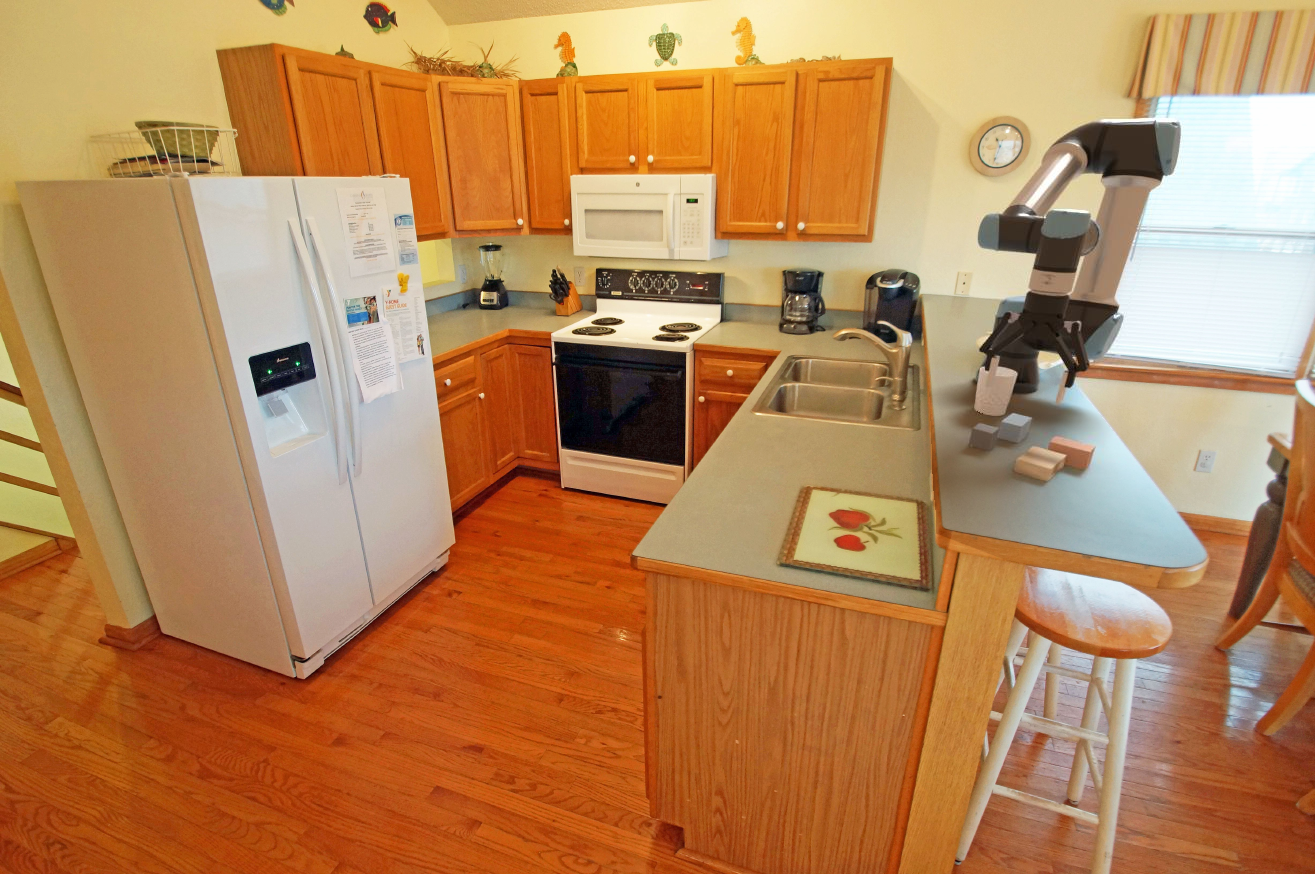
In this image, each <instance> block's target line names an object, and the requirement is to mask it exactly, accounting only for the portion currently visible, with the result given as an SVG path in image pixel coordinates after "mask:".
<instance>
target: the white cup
mask: <svg viewBox="0 0 1315 874" xmlns="http://www.w3.org/2000/svg"><path fill="white" fill-rule="evenodd" d="M988 373H989V371H985V367H981V368H980V371H979V378H978V383H977V382H976V383H977V385H976V393H975V400H974V401H975V402H974V407H973V409H974V411H976V412H977V411H978V413H979V412H980V413H979V414H982V413H983V414H982V415H986V416H993V417H1000V416H1004V415H1005V414H1006V412H1007V408H1008V406H1009V403H1010V400H1011V397H1012V394H1013V393H1012V391H1013V388H1014V384H1015V381H1016V377H1017V374H1018V373H1017V372H1016V371H1014V370H1011V369H1008V368H1004V367H997V371H996V376H995V380H994V384H993V386H991V387H990V388H987V387H985V386H986V382H987V377H988Z"/></svg>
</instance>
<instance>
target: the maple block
mask: <svg viewBox="0 0 1315 874" xmlns="http://www.w3.org/2000/svg"><path fill="white" fill-rule="evenodd" d="M1066 456H1067V455H1065V454H1061V453H1058V452H1054V451H1050V450H1048V448H1043V447H1039V446H1036V445H1033V446H1031V447H1030V448H1028V449H1027V450H1026V451H1025V452H1023V453H1022V454H1021V455H1019V457H1017V458H1016V459H1015V463H1014V468H1013V472H1015V473H1018V474H1021V475H1024V476H1027V477H1031V478H1034V479H1037V480H1040V481H1043V482H1046V483H1047V482H1049V481H1050V480H1051V479H1052V478H1053V477H1054V476H1056V475H1057V474H1058V473H1059V472H1060V471H1061V470H1062V469H1063V468H1064V466H1065V465H1064V463H1065V460H1066Z"/></svg>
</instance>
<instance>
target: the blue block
mask: <svg viewBox="0 0 1315 874" xmlns="http://www.w3.org/2000/svg"><path fill="white" fill-rule="evenodd" d="M1032 420H1033V417H1031V416H1027V415H1022V414H1019V413H1014V412H1012V413H1011V414H1009V415H1008V416H1006V418H1004V419H1003V420H1001V423H1000V427H999V432H998V436H997V439H1001V440H1003V441H1004V440H1005V441H1008V442H1012V443H1015V444H1018V443H1020V442H1021V441H1022V440H1023V439H1025V438H1026V437H1027V436H1028V435H1029V432H1030V429H1031V426H1032V425H1031V424H1032Z"/></svg>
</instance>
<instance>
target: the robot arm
mask: <svg viewBox="0 0 1315 874" xmlns="http://www.w3.org/2000/svg"><path fill="white" fill-rule="evenodd" d="M1181 136H1182V128H1181V123H1180V122H1179V120H1178V119H1176V118H1160V117H1156V116H1155V117H1150V118H1147V117H1146V118H1129V119H1127V118H1126V119H1125V118H1124V119H1121V118H1120V119H1109V118H1106V119H1099V120H1094V121H1091V122H1088V123H1084V124H1083V125H1080V126H1077V127H1075V128H1074V129H1073V130H1071V131H1068V132H1067V133H1065V134H1064V135H1062V136H1061V137H1059V138H1058V139H1057V140H1056V141H1055V142H1053V143H1052V144H1051V146H1050V147H1049V148H1048V149H1047V151H1046V152H1045V153H1044V155H1043V156H1042V159H1041V165H1040V166H1039V167H1038V169H1037V170H1036V171H1035V172H1034V174H1032V176H1031V177H1030V178H1029V180H1028V181H1027V183H1026V184H1025V185H1024V186H1023V187H1022V189H1021V190H1020V191H1019V192H1018V193H1017V195H1016V196H1015V198H1014V199H1013V200H1012V201H1011V202H1010V204H1008V206H1007V207H1006V208H1005V210H1004V211H1003V212H1002V213H1000V212H996V213H988V214H986V215H985V216H984V217H983V218H982V219H981V222H980V225H979V227H978V231H977V244H978V246H979V247H980V248H981V249H985V250H990V251H992V250H993V251H995V252H1007V253H1008V252H1009V253H1021V254H1023V253H1024V254H1032V255H1035V257H1034V262H1033V267H1032V269H1031V274H1030V278H1029V282H1028V289H1029V291H1027V292H1026V294H1025V295H1019V296H1009V297H1006V298H1004V299H1002V300H1001V301H1000V303H999V304H998V307H997V311H996V314H995V316H994V317H995V319H994V323H993V329H992V333H991V334H990V335H989V336H988V337H987V339H986V340H985V341H984V342H983V343H982V344H981V345H980V347H979V349H978V350H979V352H980V353H983V354H985V357H984V359H983V360H982V362H981V364H980V365H979V367H978V368H977V370H976V373H975V378H974V380H975V382H976V383H978V378H979V371H980V368H981V367H985V371H989V373H988V377H987V382H986V386H985V387H987V388H990V387H991V386H993V384H994V380H995V376H996V371H997V367H1004V368H1008V369H1011V370H1014V371H1016V372H1017V373H1018V374H1017V377H1016V381H1015V384H1014V388H1013V391H1012V394H1013V393H1014V394H1015V393H1016V394H1029V393H1034V392H1036V391H1038V389H1039V386H1040V380H1041V379H1040V371H1039V370H1040V369H1039V362H1038V361H1039V355H1040V352H1044V353H1051V354H1056V355H1058V356H1059V357H1060V359H1061V361H1062V363H1063V364H1064V366H1065V367H1066V369H1065V370H1064V371H1063V372H1062V376H1061V380H1060V383H1059V388H1058V391H1057V393H1056V394H1057V395H1056V397H1055V401H1054V402H1055V403H1056V404H1061V403H1062V402H1063V401H1064V397H1065V394H1066V392H1067V391H1066V390H1067V389H1071V388H1072V387H1073V385H1074V384H1075V380H1076V377H1077V374H1078V373H1079V372H1080V373H1083V372H1084V373H1085V372H1087V371H1088V370H1089V369H1090V367H1091V366H1090V362H1089V360H1092V361H1096V360H1100V359H1102V358H1104V356H1105V355H1106V354H1107V353H1108V352H1109V351H1110V349H1111V347H1112V345H1114V342H1115V340H1116V338H1117V337H1118V334H1119V332H1120V330H1121V327H1122V324H1123V322H1124V317H1125V316H1124V314H1122V313H1121V312H1119V309H1120V304H1119V303H1118V301H1117V300H1116V298H1115V297H1116V293H1117V291H1118V287H1119V285H1120V281H1121V278H1122V276H1123V273H1124V270H1125V266H1126V264H1127V261H1128V258H1129V255H1130V252H1131V248H1132V245H1133V243H1134V239H1135V237H1136V234H1137V231H1138V227H1139V225H1140V222H1141V220H1142V219H1141V218H1142V215H1143V213H1144V210H1145V207H1146V203H1147V201H1148V198H1149V195H1150V192H1151V191H1153V190H1154V189H1156V188H1157V187H1159V186H1160V185H1161V183H1162V181H1163V179H1164V177H1168V176H1171V175H1173V174H1174V172H1175V169H1176V166H1177V162H1178V159H1179V152H1180V148H1181V147H1180V145H1181ZM1085 174H1088V175H1089V174H1095V175H1101V179H1100V183H1101V184H1102V186H1103V187H1104V193H1103V196H1102V199H1101V203H1100V206H1099V209H1098V211H1097V215H1096V218H1095V220H1094V219H1092V215H1091V212H1090V211H1088V210H1085V209H1084V210H1083V209H1065V208H1064V209H1062V208H1061V209H1056V208H1055V209H1051V208H1052V207H1053V205H1054V204H1055V203H1056V201H1057V200H1058V199H1059V198H1060V197H1061V195H1062V194H1063V192H1064V191H1065V190H1066V188H1067V187H1068V186H1069V185H1070V183H1071V182H1072V181H1074V180H1076V179H1078V178H1079V177H1080V176H1082V175H1085ZM1081 257H1083V259H1082V263H1081V266H1080V269H1079V273H1078V275H1077V271H1078V267H1079V264H1080V263H1079V262H1080V261H1081ZM1076 275H1077V278H1076ZM1075 278H1076V280H1075ZM1073 286H1074V287H1073ZM1075 358H1076V360H1075Z"/></svg>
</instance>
